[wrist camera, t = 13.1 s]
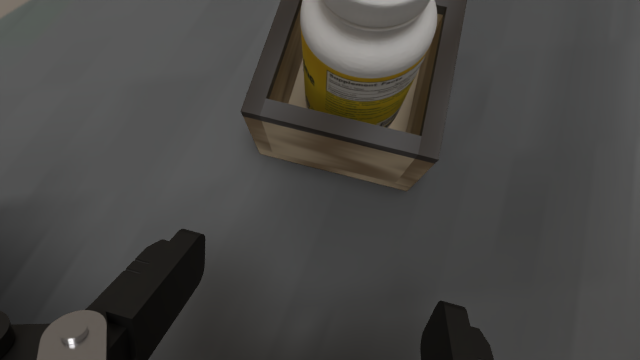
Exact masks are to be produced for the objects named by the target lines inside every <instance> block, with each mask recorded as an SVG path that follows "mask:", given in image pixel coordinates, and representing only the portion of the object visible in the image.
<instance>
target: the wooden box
mask: <svg viewBox="0 0 640 360" xmlns="http://www.w3.org/2000/svg"><path fill="white" fill-rule="evenodd" d="M302 1H303V0H281V1H280V4H279V7H278V10H277V12H276V15H275V18H274V21H273V23H272V26H271V29H270V32H269V34H268V37H267V40H266V43H265V45H264V48H263V51H262V54H261V56H260V59H259V62H258V65H257V68H256V70H255V73H254V76H253V79H252V81H251V84H250V87H249V90H248V92H247V95H246V98H245V101H244V103H243V106H242V109H241V113H242V115H243V117H244V119H245V122H246V124H247V126H248V128H249V131H250V133H251V135H252V137H253V139H254V142H255V144H256V146H257V148H258V151H259V153H260V154H262V155H266V156H270V157H274V158H278V159H282V160H286V161H290V162H294V163H298V164H302V165H306V166H310V167H314V168H318V169H322V170H326V171H329V172H333V173H337V174H341V175H345V176H349V177H353V178H357V179H361V180H365V181H369V182H373V183H377V184H381V185H385V186H389V187H393V188H397V189H400V190H404V191H408V190H409V189H410V188H411V187H412V186H413V185H414V184H415V183H416V182H417V181H418V180H419V179H420V178H421V177H422V176H423V175H424V174H425V173H426V172H427V171H428V170H429V169H430V168H431V167H432V166H433V165H434V164H435V163H436V162H437V161H438V160H439V154H440V149H441V143H442V137H443V132H444V126H445V120H446V115H447V109H448V104H449V98H450V92H451V87H452V81H453V76H454V70H455V64H456V59H457V53H458V48H459V42H460V36H461V31H462V25H463V19H464V14H465V8H466V3H467V0H435V3H436V8H437V26H436V31H435V34H434V37H433V40H432V43H431V45H430V47H429V50H428V52H427V54H426V56H425V58H424V60H423V62H422V64H421V66H420V68H419V70H418V72H417V75H416V77H415V79H414V81H413V83H412V85H411V87H410V89H409V91H408V93H407V95H406V97H405V99H404V102H403V104H402V106H401V108H400V110H399V112H398V114H397V116H396V117H395V119H394V120H393V122H392V123H391V125H390V126H389V127H388V128H386V127H382V126H378V125H374V124H370V123H366V122H361V121H357V120H353V119H349V118H345V117H341V116H337V115H333V114H328V113H324V112H320V111H316V110H312V109H308V108H307V105H306V98H305V85H304V71H303V55H302V40H301V26H300V12H301V5H302Z"/></svg>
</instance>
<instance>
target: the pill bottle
mask: <svg viewBox="0 0 640 360" xmlns="http://www.w3.org/2000/svg"><path fill="white" fill-rule="evenodd" d="M300 26H301V40H302V55H303V71H304V85H305V98H306V105H307V108H308V109H312V110H316V111H320V112H324V113H328V114H333V115H337V116H341V117H345V118H349V119H353V120H357V121H361V122H366V123H370V124H374V125H378V126H382V127H386V128H388V127H389V126H390V125H391V123H392V122H393V120H394V119H395V117H396V116H397V114H398V112H399V110H400V108H401V106H402V104H403V102H404V99H405V97H406V95H407V93H408V91H409V89H410V87H411V85H412V83H413V81H414V79H415V77H416V75H417V72H418V70H419V68H420V66H421V64H422V62H423V60H424V58H425V56H426V54H427V52H428V50H429V47H430V45H431V43H432V40H433V37H434V34H435V31H436V26H437V8H436V3H435V0H303V1H302V5H301V12H300Z"/></svg>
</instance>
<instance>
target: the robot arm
mask: <svg viewBox="0 0 640 360" xmlns="http://www.w3.org/2000/svg"><path fill="white" fill-rule="evenodd" d="M204 266H205V236H204V234H200V233H197V232H193V231H189V230H186V229H181V230H179V231H178V232H177V233H176V235H175V236H174V237H173V238H172V239H171V240H170V241H166V240H163V239H162V240H160V241H158V242H156V243H154V244H152V245H150V246H148V247H147V248H146V249H145V250H144V251H143V252H142V253H141V254H140V255H139V256H138V257H137V258H136V259H135V261H133V262H132V263H131V264H130V265H129V266H128V267H127V268H126V270H125V271H123V272H122V273H121V274H120V275H119V276H118V277H117V278H116V279H115V280H114V281H113V282H112V283H111V284H110V285H109V286H108V287H107V288H106V289H105V290H104V292H103V293H102V294H101V295H100V296H99V297H98V298H97V299H96V300H95V301H94V302H93V303H92V304H91V305H90V306H89V307H88V308H86V309H85V310H81V311H75V312H72V313H69V314H66V315H64V316H62V317H60V318H59V319H57V320H55V321H54V322H53V323H52V324H23V325H11V323H10V320H9V318H8V316H7V315H6V314H5V313H3V312H1V311H0V360H148V359H149V357H150V356H151V354H152V353H153V351H154V350H155V349H156V347H157V346H158V344H159V343H160V341H161V340H162V338H163V337H164V335H165V334H166V332H167V331H168V329H169V328H170V326H171V325H172V323H173V322H174V320H175V319H176V317H177V316H178V314H179V313H180V311H181V310H182V308H183V307H184V305H185V304H186V302H187V301H188V300H189V298H190V297H191V295H192V294H193V292H194V291H195V289H196V288H197V286H198V285H199V283H200V281H201V278H202V276H203V272H204ZM420 349H421V360H494V359H493V355H492V351H491V348H490V345H489V343H488V342H487V340H486V339H485V337H484V336H483V334H482V332H481V331H480V329H478V328H475V327H471V326H470V323H469V319H468V314H467V311H466V309H465V307H462V306H459V305H455V304H451V303H448V302H444V301H439V302H438V304H437V305H436V307H435V309H434V311H433V313H432V315H431V317H430V319H429V321H428V323H427V325H426V327H425V329H424V331H423V334H422V338H421V348H420Z"/></svg>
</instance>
